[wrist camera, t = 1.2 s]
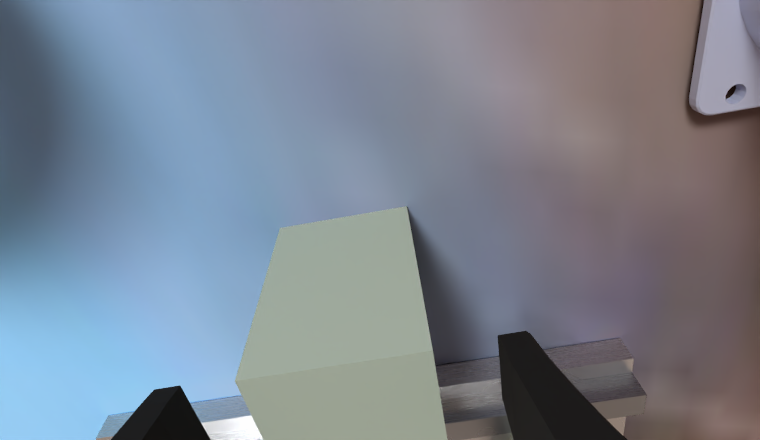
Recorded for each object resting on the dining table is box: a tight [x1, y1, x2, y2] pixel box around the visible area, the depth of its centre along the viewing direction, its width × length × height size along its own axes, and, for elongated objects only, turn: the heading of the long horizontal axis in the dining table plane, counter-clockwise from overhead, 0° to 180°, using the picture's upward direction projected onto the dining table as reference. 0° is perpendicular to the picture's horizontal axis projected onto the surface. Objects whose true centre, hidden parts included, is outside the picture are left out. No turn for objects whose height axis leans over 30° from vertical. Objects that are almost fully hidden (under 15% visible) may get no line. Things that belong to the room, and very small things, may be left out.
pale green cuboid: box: [235, 206, 447, 440], centre depth 13 cm, size 4×4×6 cm
